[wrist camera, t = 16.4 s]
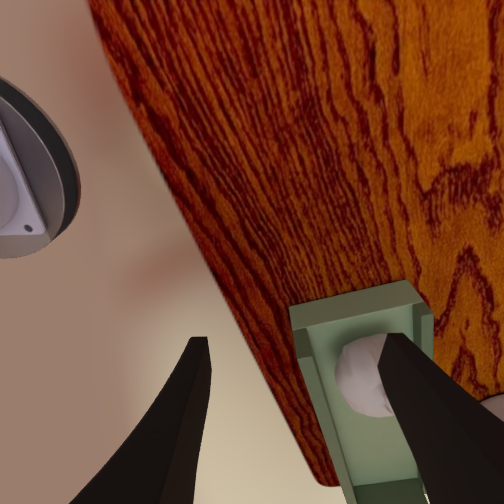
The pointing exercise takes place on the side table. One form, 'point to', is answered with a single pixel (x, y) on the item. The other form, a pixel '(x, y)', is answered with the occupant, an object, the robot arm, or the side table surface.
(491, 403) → the coffee cup
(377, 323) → the tray
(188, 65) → the side table surface
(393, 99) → the side table surface
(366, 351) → the garlic
